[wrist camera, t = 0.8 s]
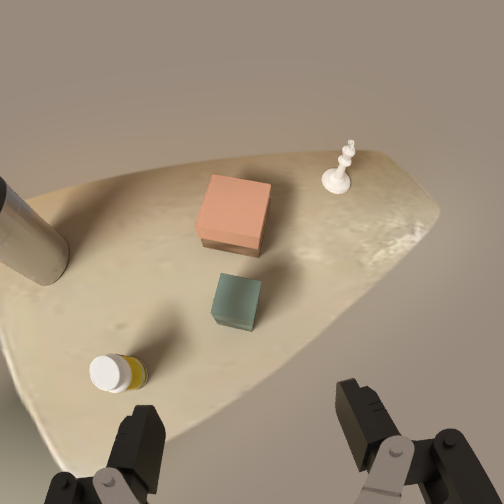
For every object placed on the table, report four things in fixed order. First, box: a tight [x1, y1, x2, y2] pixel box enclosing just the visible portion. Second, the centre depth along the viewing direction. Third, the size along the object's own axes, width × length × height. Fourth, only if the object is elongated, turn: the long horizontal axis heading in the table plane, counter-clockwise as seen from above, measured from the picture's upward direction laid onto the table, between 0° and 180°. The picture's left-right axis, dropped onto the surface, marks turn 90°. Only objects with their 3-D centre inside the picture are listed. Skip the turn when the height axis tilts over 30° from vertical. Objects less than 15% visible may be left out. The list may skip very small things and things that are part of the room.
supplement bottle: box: [90, 354, 148, 393], centre depth 30 cm, size 5×5×8 cm
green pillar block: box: [211, 273, 262, 332], centre depth 34 cm, size 4×4×8 cm
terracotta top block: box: [195, 174, 271, 249], centre depth 38 cm, size 8×8×4 cm
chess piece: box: [322, 140, 355, 194], centre depth 42 cm, size 5×5×10 cm
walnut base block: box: [201, 198, 270, 258], centre depth 41 cm, size 8×8×4 cm
